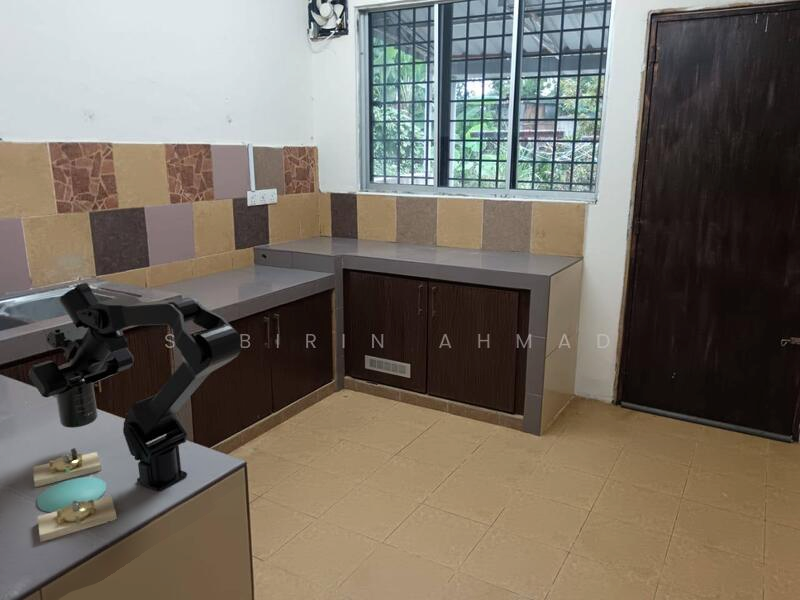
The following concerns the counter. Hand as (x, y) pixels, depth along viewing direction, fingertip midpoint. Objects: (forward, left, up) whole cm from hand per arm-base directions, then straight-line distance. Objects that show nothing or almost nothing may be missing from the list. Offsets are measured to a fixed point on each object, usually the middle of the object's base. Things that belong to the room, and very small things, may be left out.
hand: (70, 389), depth 123 cm
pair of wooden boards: (+11, +16, -13) cm, 24 cm away
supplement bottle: (0, +1, -7) cm, 7 cm away
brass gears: (+11, +16, -11) cm, 23 cm away
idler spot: (+11, +16, -13) cm, 24 cm away
